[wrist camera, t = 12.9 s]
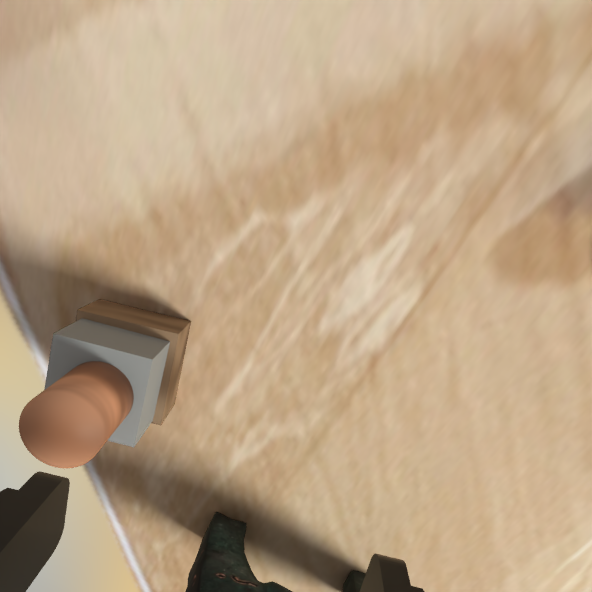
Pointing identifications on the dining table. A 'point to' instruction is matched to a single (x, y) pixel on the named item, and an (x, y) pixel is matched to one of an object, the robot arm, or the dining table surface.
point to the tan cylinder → (76, 414)
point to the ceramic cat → (235, 563)
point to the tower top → (121, 354)
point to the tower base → (153, 327)
